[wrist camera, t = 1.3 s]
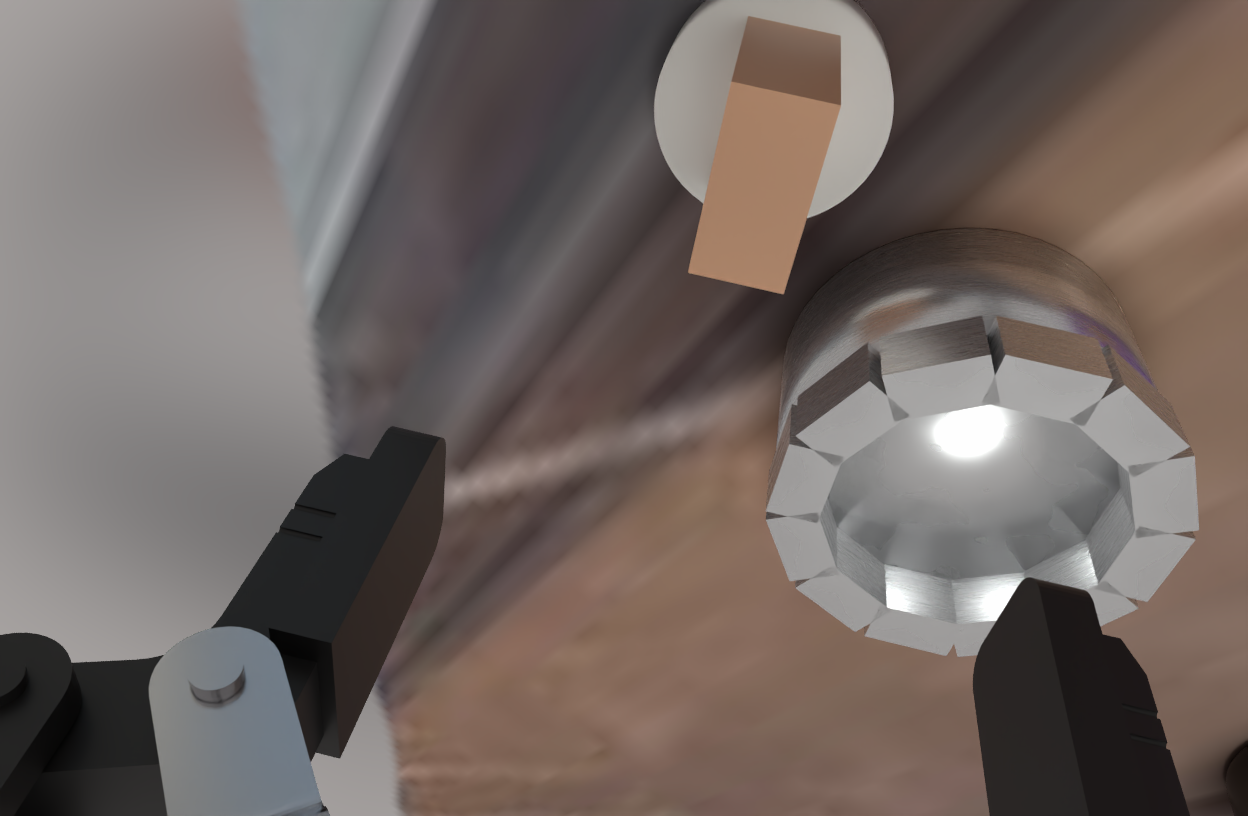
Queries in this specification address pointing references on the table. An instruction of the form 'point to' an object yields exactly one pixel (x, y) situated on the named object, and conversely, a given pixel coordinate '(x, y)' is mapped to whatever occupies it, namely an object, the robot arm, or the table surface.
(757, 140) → the knob lid with grip
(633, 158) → the table surface
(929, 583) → the glass candle holder
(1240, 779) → the supplement bottle
